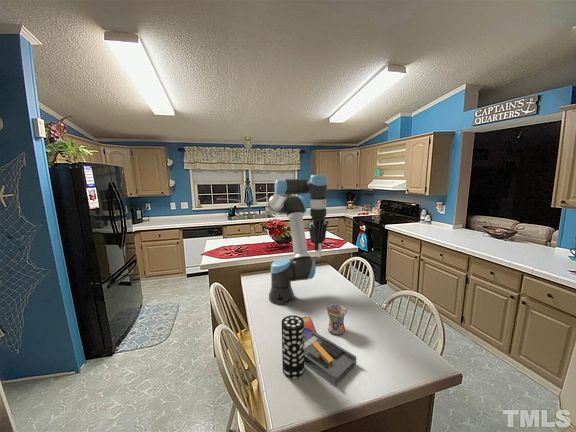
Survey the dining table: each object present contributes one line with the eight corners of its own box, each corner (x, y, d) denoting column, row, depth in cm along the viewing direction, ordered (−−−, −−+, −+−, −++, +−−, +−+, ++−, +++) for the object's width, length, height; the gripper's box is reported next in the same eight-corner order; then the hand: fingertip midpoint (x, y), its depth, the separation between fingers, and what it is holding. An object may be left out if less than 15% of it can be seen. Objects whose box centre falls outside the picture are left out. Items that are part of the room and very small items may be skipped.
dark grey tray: (291, 353, 100) (291, 345, 99) (313, 337, 110) (313, 329, 109) (335, 386, 84) (335, 376, 84) (356, 364, 94) (356, 355, 93)
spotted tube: (281, 362, 96) (280, 316, 92) (302, 360, 96) (302, 314, 93) (283, 379, 88) (282, 329, 84) (305, 377, 88) (305, 328, 85)
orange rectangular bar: (311, 346, 96) (312, 343, 95) (315, 343, 98) (316, 340, 97) (328, 364, 91) (329, 362, 90) (332, 361, 92) (333, 359, 92)
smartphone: (301, 339, 109) (301, 337, 109) (295, 319, 124) (295, 318, 124) (317, 337, 110) (317, 335, 110) (309, 318, 125) (309, 316, 125)
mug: (348, 335, 111) (349, 314, 109) (328, 336, 110) (328, 315, 108) (341, 320, 122) (341, 301, 121) (323, 321, 122) (323, 301, 120)
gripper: (315, 210, 106) (315, 261, 110) (333, 207, 114) (332, 254, 118) (302, 208, 111) (303, 257, 115) (320, 205, 120) (320, 251, 124)
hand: (318, 256), depth 117 cm, fingers closed
